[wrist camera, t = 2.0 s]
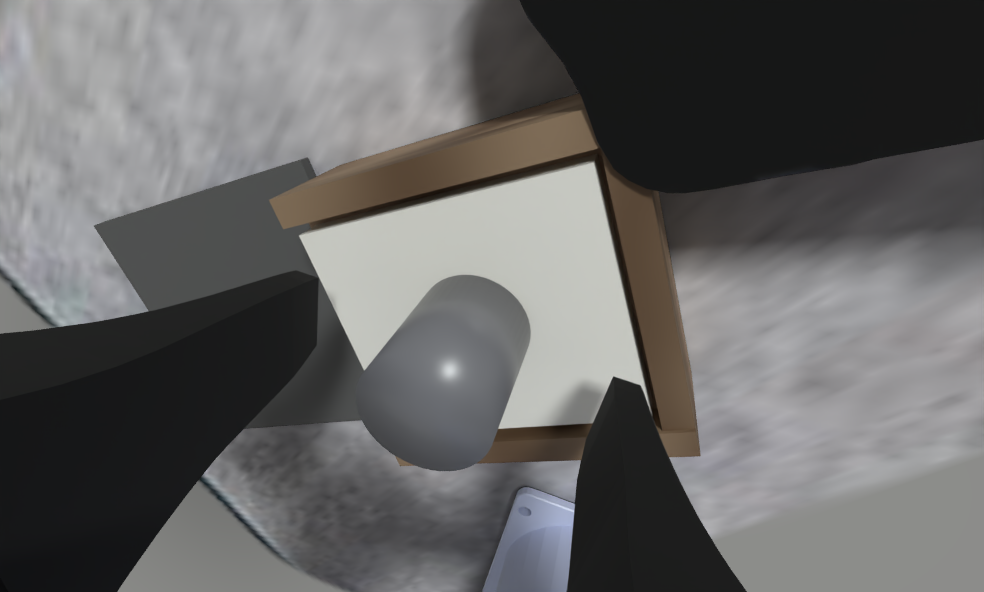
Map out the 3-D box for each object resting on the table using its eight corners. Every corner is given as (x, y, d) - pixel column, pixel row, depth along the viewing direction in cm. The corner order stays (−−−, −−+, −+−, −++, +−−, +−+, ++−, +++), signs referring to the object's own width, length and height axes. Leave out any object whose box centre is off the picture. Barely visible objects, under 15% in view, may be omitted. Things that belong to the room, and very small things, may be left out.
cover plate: (597, 153, 11) (571, 221, 8) (652, 399, 14) (652, 537, 10) (315, 224, 14) (199, 298, 11) (405, 417, 17) (337, 529, 13)
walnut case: (637, 75, 13) (632, 95, 10) (691, 374, 16) (700, 456, 13) (340, 165, 16) (268, 199, 13) (438, 397, 19) (400, 465, 16)
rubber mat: (307, 157, 16) (300, 160, 16) (420, 409, 20) (416, 416, 20) (103, 222, 20) (93, 225, 19) (231, 423, 24) (225, 430, 23)
